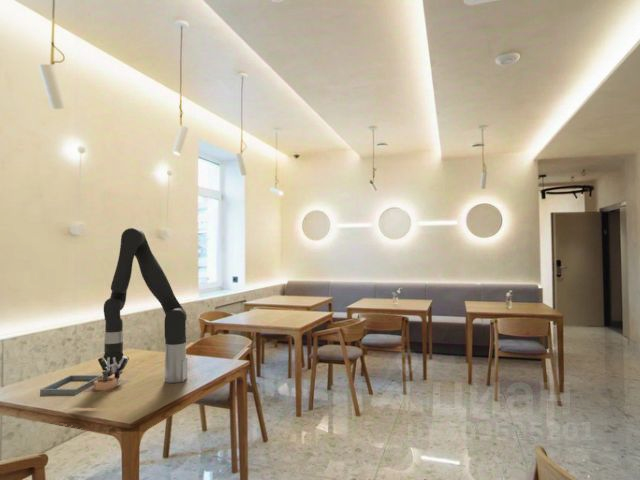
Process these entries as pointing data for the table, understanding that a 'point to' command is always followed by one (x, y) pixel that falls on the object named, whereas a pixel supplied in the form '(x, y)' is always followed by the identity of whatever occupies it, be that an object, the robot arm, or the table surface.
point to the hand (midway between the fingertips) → (113, 379)
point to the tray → (53, 387)
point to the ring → (105, 383)
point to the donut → (114, 367)
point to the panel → (105, 379)
